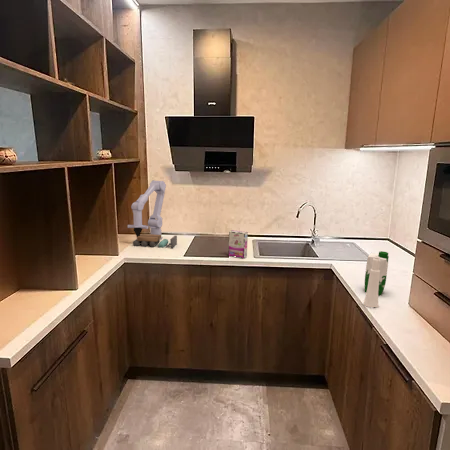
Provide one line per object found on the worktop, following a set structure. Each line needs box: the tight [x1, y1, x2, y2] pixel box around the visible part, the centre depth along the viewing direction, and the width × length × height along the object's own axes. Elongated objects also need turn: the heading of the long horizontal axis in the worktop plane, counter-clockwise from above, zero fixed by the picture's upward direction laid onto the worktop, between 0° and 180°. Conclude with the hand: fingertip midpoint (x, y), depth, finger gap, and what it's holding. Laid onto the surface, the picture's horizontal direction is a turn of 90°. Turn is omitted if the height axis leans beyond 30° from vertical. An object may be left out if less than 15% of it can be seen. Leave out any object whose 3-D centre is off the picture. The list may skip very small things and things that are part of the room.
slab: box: [136, 233, 162, 242], centre depth 232 cm, size 10×14×2 cm
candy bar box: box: [228, 229, 249, 259], centre depth 209 cm, size 11×5×16 cm, turn 62°
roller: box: [158, 238, 169, 249], centre depth 231 cm, size 10×4×4 cm
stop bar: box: [169, 235, 178, 249], centre depth 230 cm, size 11×2×6 cm, turn 173°
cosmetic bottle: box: [363, 256, 380, 309], centre depth 142 cm, size 6×6×22 cm
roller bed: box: [132, 238, 170, 249], centre depth 232 cm, size 10×24×4 cm, turn 83°
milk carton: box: [364, 250, 389, 296], centre depth 157 cm, size 9×9×20 cm
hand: (138, 238), depth 233 cm, fingers closed
